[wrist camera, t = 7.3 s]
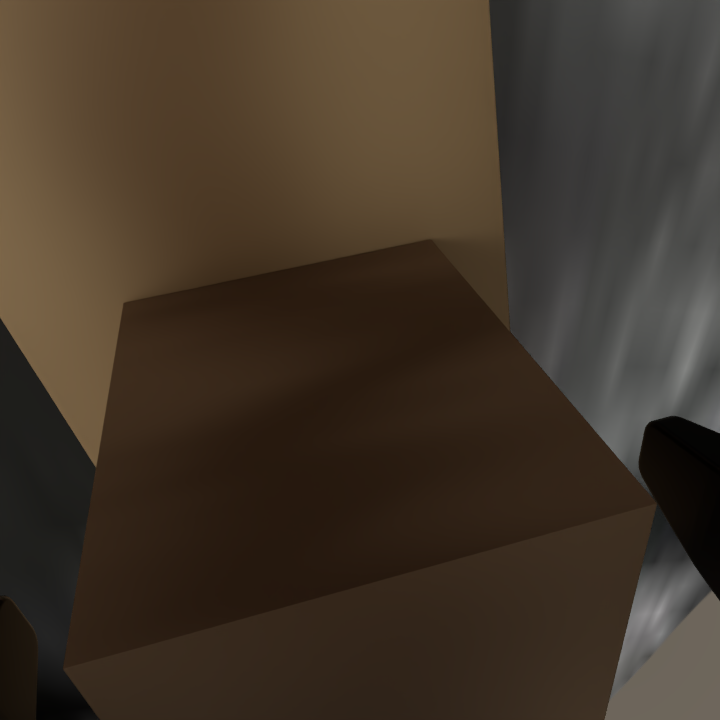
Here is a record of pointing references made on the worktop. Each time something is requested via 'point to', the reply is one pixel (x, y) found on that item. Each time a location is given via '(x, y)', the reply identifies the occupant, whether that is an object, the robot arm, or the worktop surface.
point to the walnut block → (348, 510)
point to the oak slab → (229, 157)
